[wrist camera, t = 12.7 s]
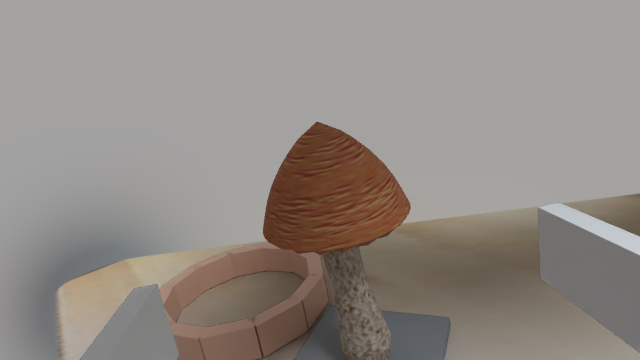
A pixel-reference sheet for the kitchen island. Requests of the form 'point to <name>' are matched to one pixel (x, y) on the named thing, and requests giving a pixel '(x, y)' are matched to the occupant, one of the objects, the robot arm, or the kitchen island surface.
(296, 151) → the mushroom
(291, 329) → the ring
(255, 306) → the kitchen island surface
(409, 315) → the mat
